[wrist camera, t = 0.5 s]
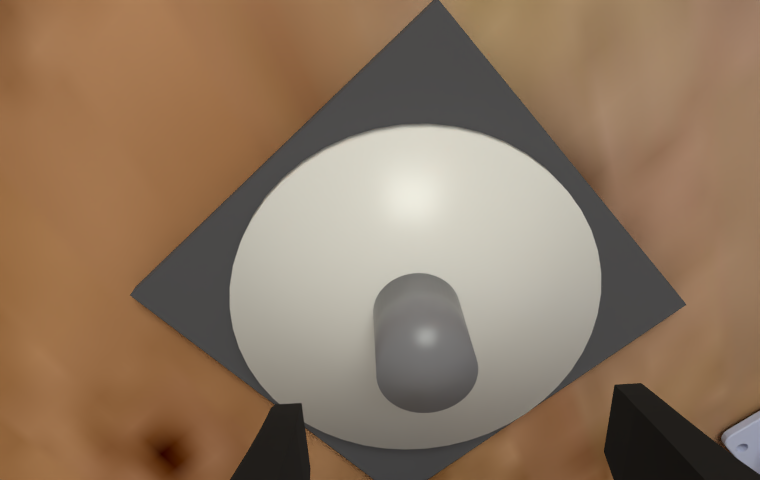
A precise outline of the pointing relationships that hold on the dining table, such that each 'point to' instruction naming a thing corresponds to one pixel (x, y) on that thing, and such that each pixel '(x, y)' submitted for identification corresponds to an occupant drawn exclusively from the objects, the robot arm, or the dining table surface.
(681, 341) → the dining table surface
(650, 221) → the dining table surface
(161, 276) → the rubber mat
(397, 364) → the white lid
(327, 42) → the dining table surface
